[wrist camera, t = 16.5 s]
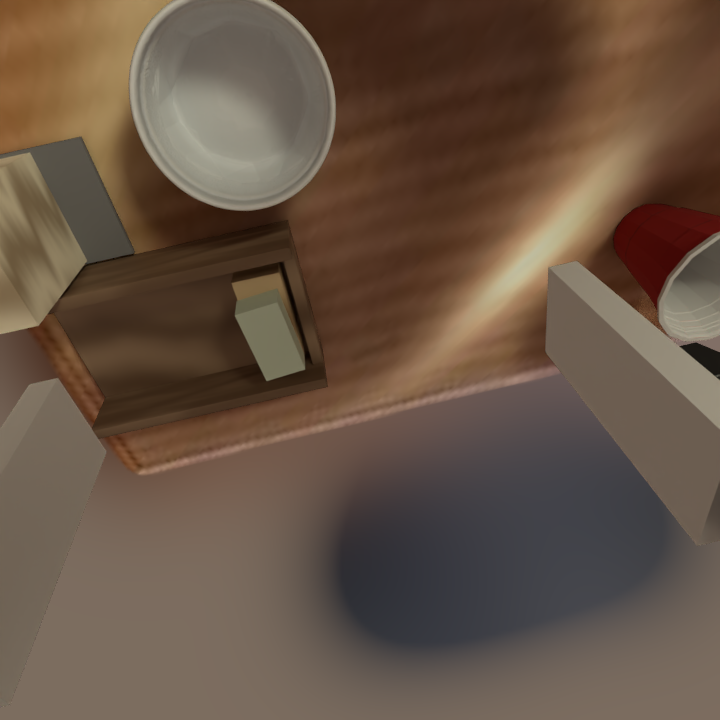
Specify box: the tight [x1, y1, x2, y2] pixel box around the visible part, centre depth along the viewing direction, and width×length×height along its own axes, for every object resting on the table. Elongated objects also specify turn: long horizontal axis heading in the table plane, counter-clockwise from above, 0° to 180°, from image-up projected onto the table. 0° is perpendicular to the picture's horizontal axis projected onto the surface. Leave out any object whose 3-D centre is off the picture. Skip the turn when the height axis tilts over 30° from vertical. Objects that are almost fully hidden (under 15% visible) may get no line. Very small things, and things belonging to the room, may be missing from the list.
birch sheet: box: [0, 152, 87, 334], centre depth 37 cm, size 9×3×11 cm, turn 10°
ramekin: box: [129, 0, 336, 211], centre depth 36 cm, size 13×13×7 cm
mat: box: [0, 137, 135, 264], centre depth 42 cm, size 10×11×1 cm
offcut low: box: [232, 262, 305, 358], centre depth 46 cm, size 9×4×4 cm, turn 10°
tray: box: [48, 220, 328, 439], centre depth 46 cm, size 14×22×6 cm, turn 100°
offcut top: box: [235, 289, 305, 381], centre depth 44 cm, size 7×4×2 cm, turn 15°
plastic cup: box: [613, 204, 720, 342], centre depth 45 cm, size 11×11×12 cm
